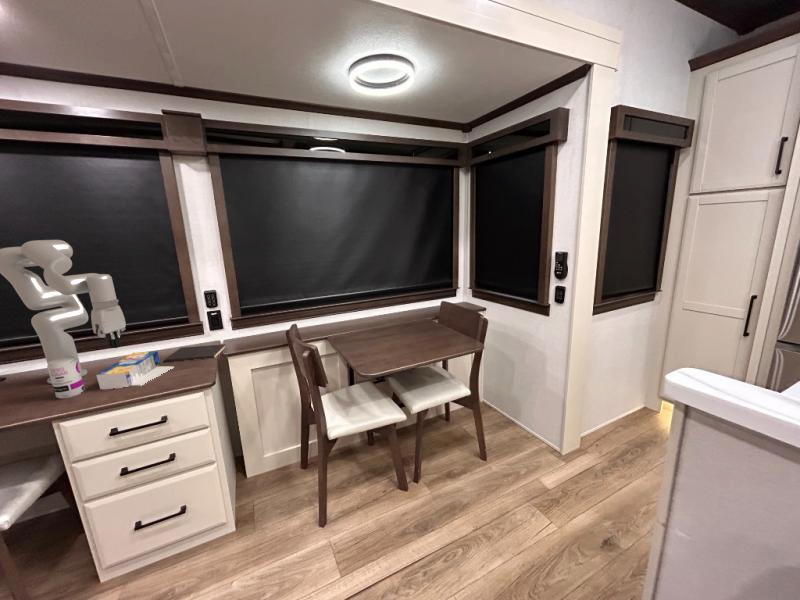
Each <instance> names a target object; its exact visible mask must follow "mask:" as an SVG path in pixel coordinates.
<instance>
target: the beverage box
mask: <svg viewBox="0 0 800 600" xmlns="http://www.w3.org/2000/svg"><path fill="white" fill-rule="evenodd" d="M160 359H161V358H160V355H159V351H157V350H156V351H141V352H140V351H139V352H132V353H131V354H128V355H127V356H125V357H124V358H122V359H121V360H118V361H117V362H115V363H114V364H112V365H110V366H108V367H107V368H105V369H104V370H102V371H101V372H98V373H97V374H96V379H97V382H98V385H99V389H100V390H101V389H102V390H112V389H113V388H115V389H124V388H123V387H129V386H130V385H131V384H132V383H134V382H135V381H137V380H138V379H140V378H141V377H142V376H144V375H145V374H147V373H148V372H150V371H151V370H153V369H154V368H156V367H157V366H160V365H161V364H162V363H161V360H160ZM130 387H131V386H130ZM130 387H129V388H130Z"/></svg>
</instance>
